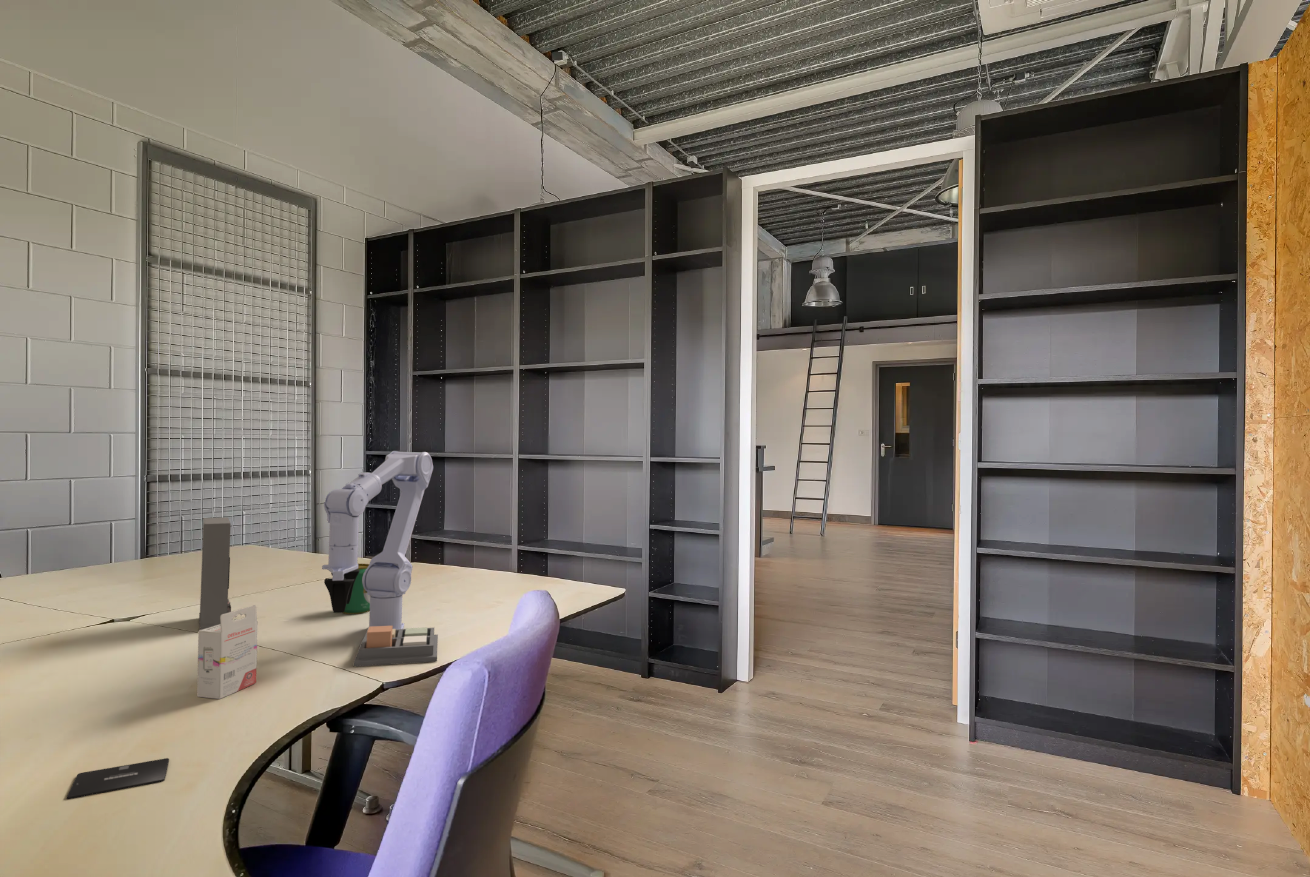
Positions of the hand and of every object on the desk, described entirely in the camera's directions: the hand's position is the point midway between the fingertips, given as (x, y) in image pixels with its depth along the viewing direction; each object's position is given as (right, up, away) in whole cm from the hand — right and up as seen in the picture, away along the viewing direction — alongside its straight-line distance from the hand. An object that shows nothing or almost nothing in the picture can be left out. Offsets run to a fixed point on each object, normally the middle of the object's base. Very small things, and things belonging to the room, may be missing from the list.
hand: (341, 607), depth 147 cm
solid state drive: (-3, -9, -56) cm, 57 cm away
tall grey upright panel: (-40, -9, +19) cm, 45 cm away
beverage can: (-12, -10, +35) cm, 38 cm away
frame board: (+12, -10, +1) cm, 15 cm away
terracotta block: (+9, -9, -3) cm, 13 cm away
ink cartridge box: (-10, -9, -24) cm, 27 cm away
